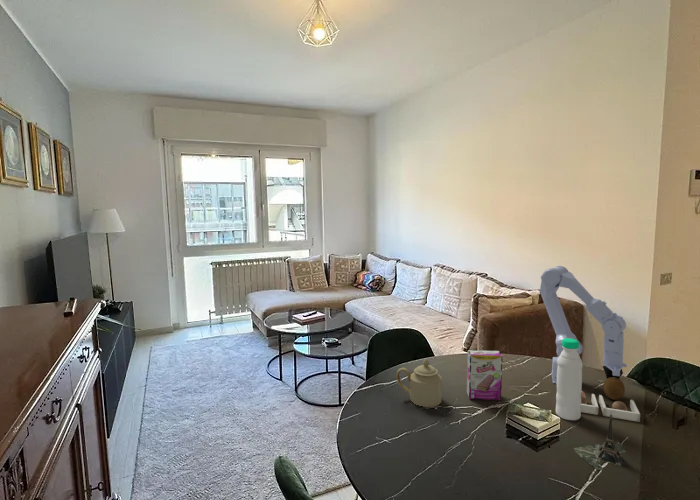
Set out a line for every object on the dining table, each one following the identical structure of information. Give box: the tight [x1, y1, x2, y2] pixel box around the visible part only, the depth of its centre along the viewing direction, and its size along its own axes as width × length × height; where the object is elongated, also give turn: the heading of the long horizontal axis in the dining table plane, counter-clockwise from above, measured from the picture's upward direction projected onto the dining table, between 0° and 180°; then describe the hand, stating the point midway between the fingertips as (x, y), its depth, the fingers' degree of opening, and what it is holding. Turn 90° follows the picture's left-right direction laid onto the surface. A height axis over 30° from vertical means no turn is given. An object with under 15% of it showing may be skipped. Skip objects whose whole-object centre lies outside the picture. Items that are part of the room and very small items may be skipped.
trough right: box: [598, 394, 641, 423], centre depth 129 cm, size 10×10×2 cm
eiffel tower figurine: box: [573, 414, 627, 471], centre depth 106 cm, size 15×10×13 cm
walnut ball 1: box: [581, 396, 588, 405], centre depth 133 cm, size 4×4×4 cm
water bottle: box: [555, 338, 584, 421], centre depth 127 cm, size 7×7×25 cm
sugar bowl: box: [396, 358, 443, 408], centre depth 139 cm, size 15×11×15 cm
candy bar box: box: [466, 349, 503, 401], centre depth 141 cm, size 11×5×16 cm, turn 84°
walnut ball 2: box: [611, 400, 628, 411], centre depth 128 cm, size 4×4×4 cm
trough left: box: [580, 393, 599, 416], centre depth 134 cm, size 10×10×2 cm
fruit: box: [602, 377, 626, 401], centre depth 137 cm, size 6×6×8 cm
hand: (611, 387), depth 141 cm, fingers closed
